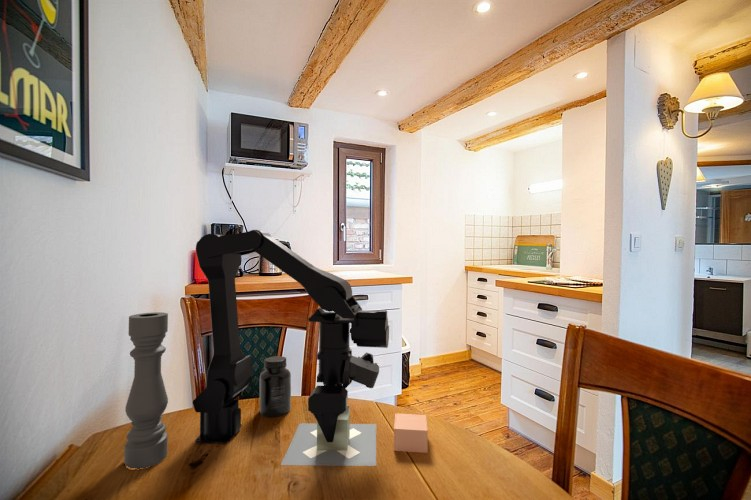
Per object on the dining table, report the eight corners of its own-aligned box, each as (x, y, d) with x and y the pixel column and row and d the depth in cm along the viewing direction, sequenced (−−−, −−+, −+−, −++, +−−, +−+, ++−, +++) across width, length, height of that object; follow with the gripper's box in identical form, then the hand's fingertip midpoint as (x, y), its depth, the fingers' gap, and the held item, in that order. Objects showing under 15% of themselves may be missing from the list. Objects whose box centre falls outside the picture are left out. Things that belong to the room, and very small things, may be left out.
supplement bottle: (294, 406, 79) (295, 355, 80) (284, 420, 73) (284, 364, 73) (266, 404, 80) (267, 354, 80) (253, 418, 73) (254, 363, 74)
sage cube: (316, 450, 61) (317, 419, 61) (321, 434, 66) (321, 406, 66) (347, 450, 61) (347, 419, 61) (349, 434, 66) (349, 406, 66)
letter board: (280, 467, 56) (280, 464, 56) (299, 425, 70) (299, 423, 70) (376, 468, 56) (376, 465, 56) (376, 425, 70) (376, 423, 70)
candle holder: (175, 450, 61) (177, 312, 61) (146, 472, 55) (149, 319, 55) (146, 447, 62) (148, 311, 62) (114, 468, 56) (117, 317, 56)
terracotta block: (393, 453, 61) (394, 428, 61) (395, 436, 67) (395, 413, 67) (427, 456, 60) (427, 430, 60) (425, 438, 66) (425, 415, 66)
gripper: (376, 360, 54) (376, 458, 54) (376, 334, 73) (376, 406, 73) (307, 360, 54) (306, 458, 54) (325, 333, 73) (325, 406, 73)
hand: (333, 428), depth 63 cm, fingers open, 9 cm apart
